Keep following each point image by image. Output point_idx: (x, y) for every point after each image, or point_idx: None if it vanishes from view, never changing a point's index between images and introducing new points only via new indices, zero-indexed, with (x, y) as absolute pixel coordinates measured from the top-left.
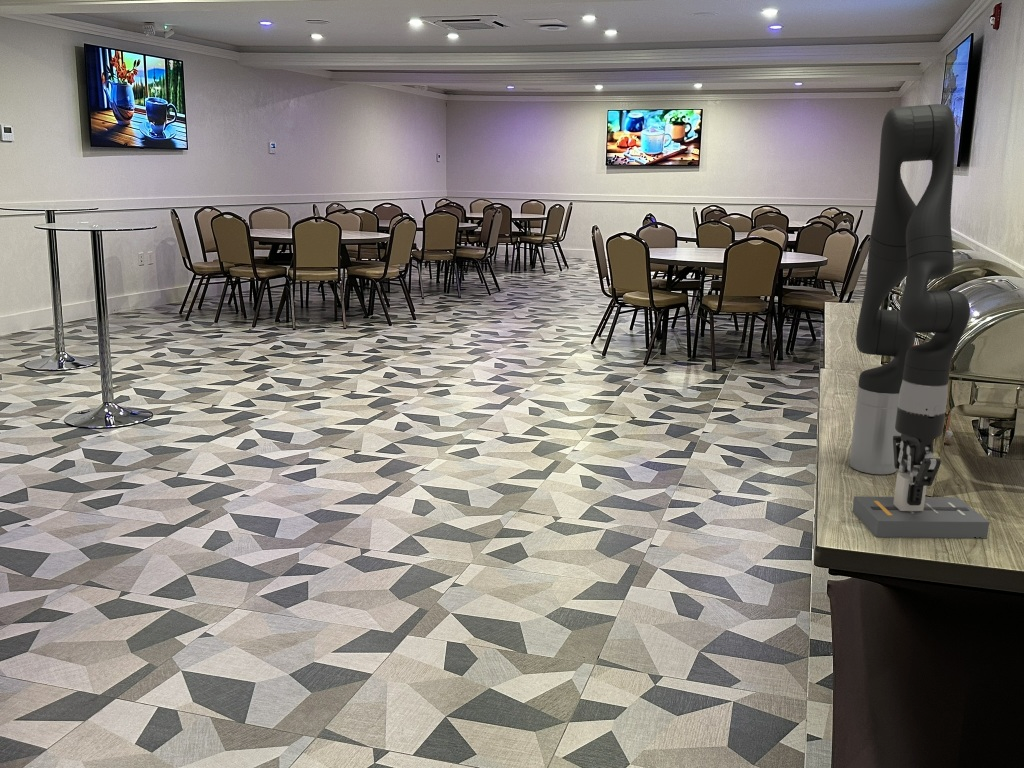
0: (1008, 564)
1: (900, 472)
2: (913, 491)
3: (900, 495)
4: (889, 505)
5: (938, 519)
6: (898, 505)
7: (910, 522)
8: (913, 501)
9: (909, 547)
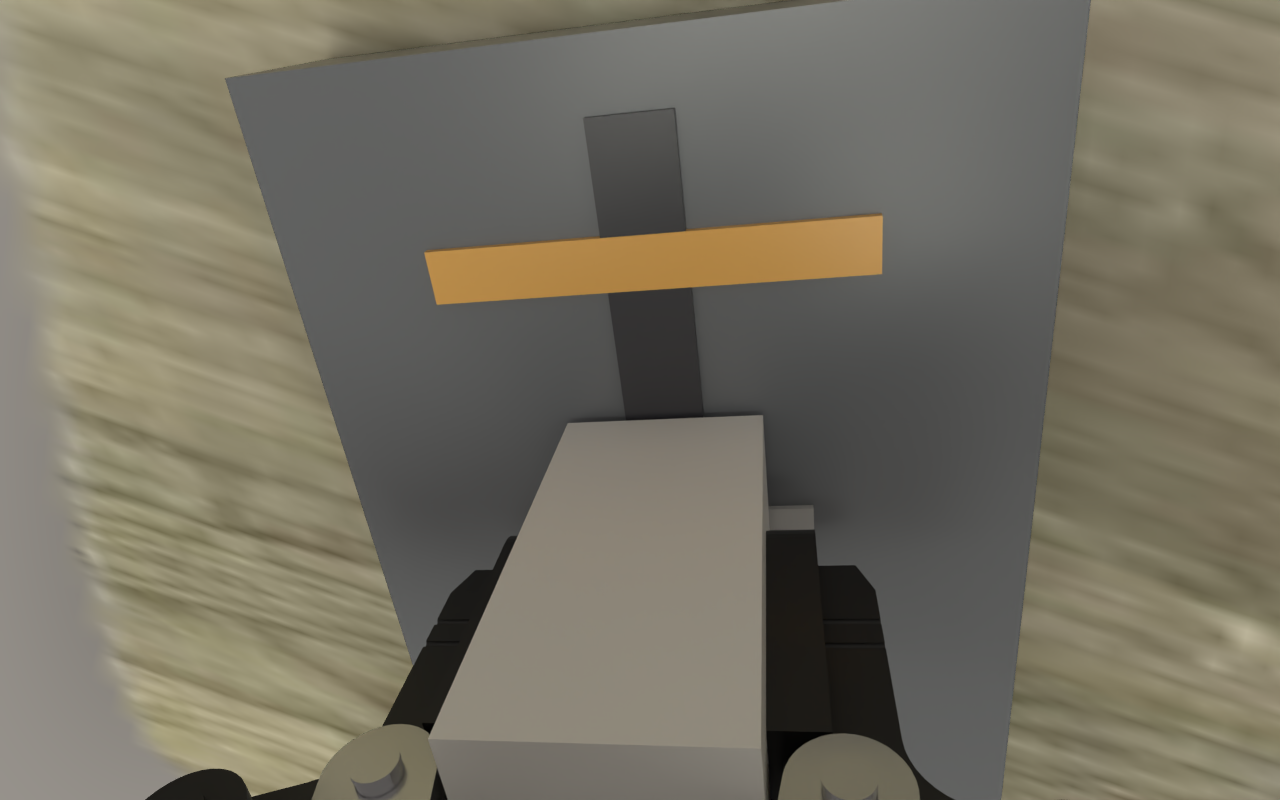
0: (185, 757)
1: (821, 796)
2: (431, 683)
3: (582, 519)
4: (754, 367)
5: None
6: (622, 440)
7: (345, 424)
8: (460, 594)
9: (210, 298)
